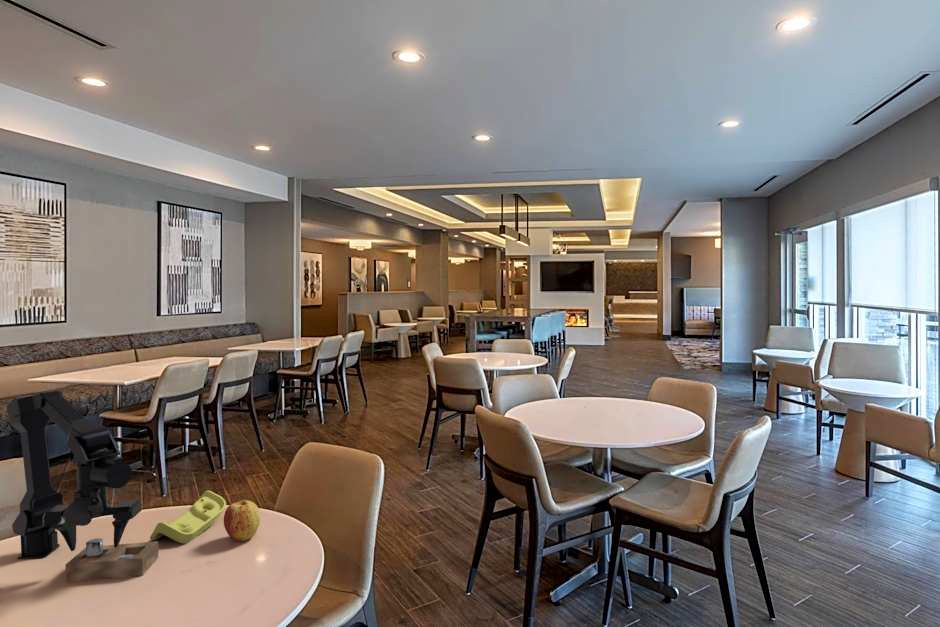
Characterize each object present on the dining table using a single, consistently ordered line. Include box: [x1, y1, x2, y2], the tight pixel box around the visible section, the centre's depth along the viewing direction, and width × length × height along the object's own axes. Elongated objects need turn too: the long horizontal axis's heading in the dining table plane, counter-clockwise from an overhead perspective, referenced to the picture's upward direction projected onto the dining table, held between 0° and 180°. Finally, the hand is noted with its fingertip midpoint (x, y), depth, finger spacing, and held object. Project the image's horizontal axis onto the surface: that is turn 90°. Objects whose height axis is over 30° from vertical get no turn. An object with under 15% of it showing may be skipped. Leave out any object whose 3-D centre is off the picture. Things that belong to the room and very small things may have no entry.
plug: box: [85, 538, 104, 558], centre depth 130 cm, size 3×3×7 cm
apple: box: [223, 499, 261, 542], centre depth 147 cm, size 9×9×10 cm
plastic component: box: [149, 490, 227, 544], centre depth 154 cm, size 20×7×10 cm
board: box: [64, 540, 159, 583], centre depth 131 cm, size 16×9×4 cm, turn 99°
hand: (94, 548), depth 130 cm, fingers open, 9 cm apart
